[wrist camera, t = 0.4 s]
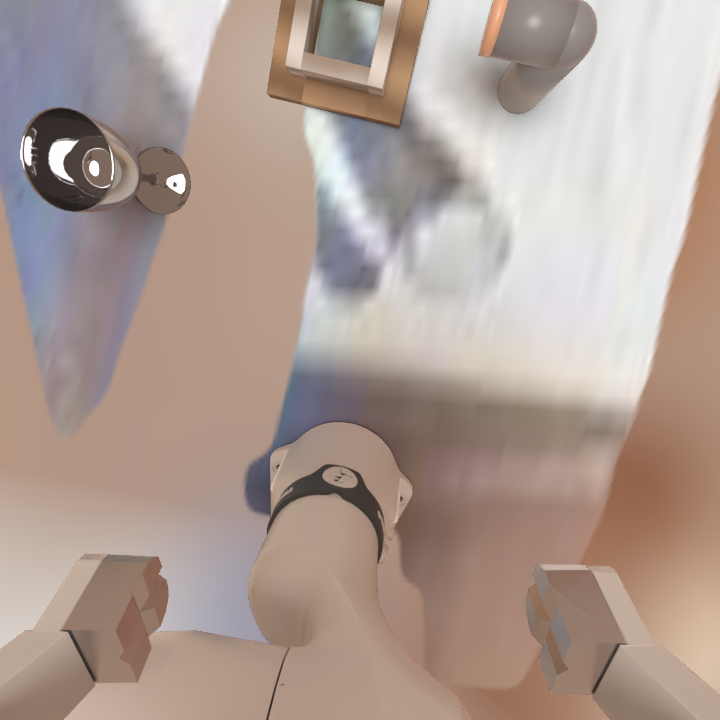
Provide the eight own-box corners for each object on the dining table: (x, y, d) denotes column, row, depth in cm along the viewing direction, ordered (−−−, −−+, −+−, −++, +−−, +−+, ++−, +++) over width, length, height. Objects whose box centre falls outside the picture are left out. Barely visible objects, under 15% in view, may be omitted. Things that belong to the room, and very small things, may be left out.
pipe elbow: (549, 69, 45) (619, -10, 31) (533, 119, 47) (593, 66, 32) (472, 51, 46) (505, -36, 31) (459, 101, 47) (485, 41, 32)
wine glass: (129, 135, 51) (20, 97, 36) (198, 151, 50) (116, 118, 36) (124, 209, 53) (19, 200, 39) (190, 224, 53) (109, 221, 38)
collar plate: (399, 128, 48) (398, 119, 44) (270, 97, 48) (259, 85, 45) (435, -28, 44) (438, -53, 40) (295, -60, 44) (285, -88, 41)
